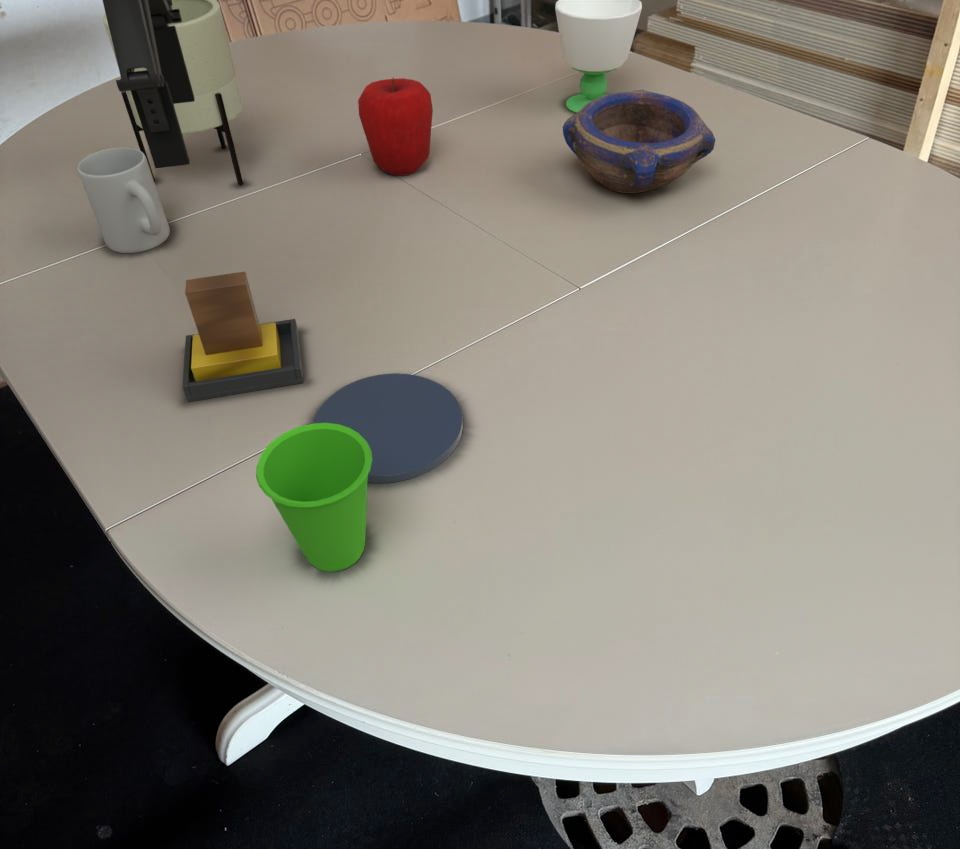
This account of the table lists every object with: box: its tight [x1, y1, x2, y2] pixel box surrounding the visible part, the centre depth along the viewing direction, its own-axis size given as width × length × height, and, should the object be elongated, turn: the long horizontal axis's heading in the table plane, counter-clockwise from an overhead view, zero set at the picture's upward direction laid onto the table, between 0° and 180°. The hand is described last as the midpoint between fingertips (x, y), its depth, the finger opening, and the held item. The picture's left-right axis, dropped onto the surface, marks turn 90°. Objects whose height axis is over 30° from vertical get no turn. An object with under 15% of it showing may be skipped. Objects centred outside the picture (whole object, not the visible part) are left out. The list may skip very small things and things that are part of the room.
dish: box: [181, 318, 305, 403], centre depth 90 cm, size 12×9×2 cm
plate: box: [312, 373, 464, 484], centre depth 82 cm, size 15×15×1 cm
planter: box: [102, 0, 244, 187], centre depth 118 cm, size 15×16×23 cm
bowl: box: [562, 89, 716, 194], centre depth 116 cm, size 18×18×10 cm
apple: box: [357, 77, 434, 176], centre depth 120 cm, size 11×10×14 cm
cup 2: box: [554, 0, 643, 114], centre depth 134 cm, size 14×14×16 cm
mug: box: [76, 146, 171, 254], centre depth 107 cm, size 12×8×11 cm
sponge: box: [184, 270, 282, 382], centre depth 87 cm, size 9×6×10 cm, turn 103°
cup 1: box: [255, 423, 372, 573], centre depth 68 cm, size 9×9×11 cm
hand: (176, 131), depth 73 cm, fingers open, 13 cm apart
